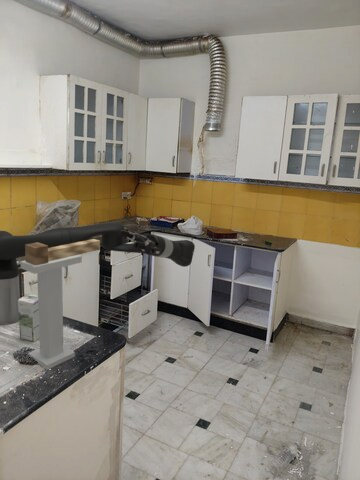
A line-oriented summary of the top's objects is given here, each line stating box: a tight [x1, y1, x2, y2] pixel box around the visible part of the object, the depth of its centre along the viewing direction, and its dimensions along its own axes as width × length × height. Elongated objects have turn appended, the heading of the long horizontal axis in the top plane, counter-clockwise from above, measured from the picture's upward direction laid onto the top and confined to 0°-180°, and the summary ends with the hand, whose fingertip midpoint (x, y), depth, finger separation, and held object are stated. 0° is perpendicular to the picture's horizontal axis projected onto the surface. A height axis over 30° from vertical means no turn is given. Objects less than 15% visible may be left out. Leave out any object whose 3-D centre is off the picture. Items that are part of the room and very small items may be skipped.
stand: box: [20, 254, 83, 371], centre depth 117 cm, size 16×10×32 cm, turn 143°
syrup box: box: [18, 294, 40, 343], centre depth 129 cm, size 6×6×14 cm
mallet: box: [24, 238, 101, 265], centre depth 116 cm, size 24×5×5 cm, turn 143°
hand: (127, 238), depth 126 cm, fingers open, 8 cm apart
